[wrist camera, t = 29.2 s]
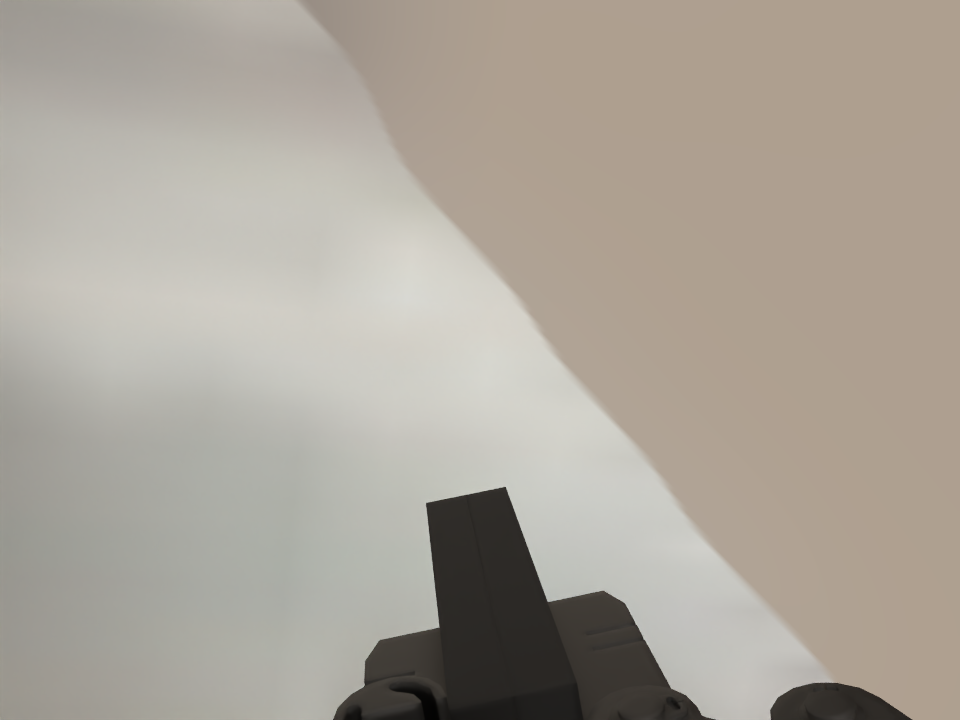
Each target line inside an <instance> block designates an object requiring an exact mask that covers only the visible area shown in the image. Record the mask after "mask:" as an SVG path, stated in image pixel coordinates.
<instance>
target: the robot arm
mask: <svg viewBox="0 0 960 720" xmlns="http://www.w3.org/2000/svg"><path fill="white" fill-rule="evenodd" d="M426 507H427V516H428V525H429V534H430V543H431V552H432V561H433V571H434V580H435V589H436V598H437V607H438V616H439V625H440V628H436V629H431V630H426V631H421V632H417V633H412V634H407V635H402V636H398V637H393V638H388V639H383V640H380V641H379V642H378V643H377V645H376V646H375V648H374V649H373V651H372V652H371V654H370V655H369V657H368V658H367V659H366V661H365V678H364V683H365V686H364V687H363V688H362V689H360V690H358V691H357V692H355V693H353V694H351V695H350V696H349V697H348V698H347V699H346V700H345V701H344V702H343V703H342V704H341V705H340V706H339V707H338V709H337V711H336V714H335V716H334V719H333V720H715V719H711V718H706V717H704V716H702V715H701V713H700V711H699V710H698V708H697V706H696V705H695V704H694V703H693V702H692V701H691V700H690V699H689V698H688V697H687V696H686V695H684V694H682V693H679V692H677V691H675V690H673V689H671V688H670V686H669V684H668V682H667V680H666V678H665V677H664V675H663V673H662V671H661V669H660V667H659V665H658V664H657V662H656V660H655V658H654V656H653V654H652V653H651V651H650V649H649V647H648V645H647V643H646V642H645V640H643V636H642V634H641V632H640V630H639V629H638V627H637V625H635V621H634V619H633V618H632V616H631V614H630V612H629V610H628V608H627V607H626V605H625V603H623V602H621V601H620V600H618V599H616V598H615V597H613V596H611V595H610V594H608V593H606V592H605V591H600V592H595V593H590V594H585V595H581V596H576V597H571V598H566V599H562V600H557V601H552V602H547V599H546V596H545V594H544V591H543V588H542V585H541V583H540V580H539V577H538V575H537V572H536V569H535V566H534V564H533V561H532V558H531V555H530V553H529V550H528V547H527V544H526V542H525V539H524V536H523V533H522V531H521V528H520V525H519V523H518V520H517V517H516V514H515V512H514V509H513V506H512V503H511V501H510V498H509V495H508V492H507V490H506V487H503V488H498V489H493V490H488V491H483V492H479V493H474V494H469V495H464V496H459V497H454V498H449V499H444V500H439V501H434V502H429V503H426ZM770 713H771V720H912V719H910V718H909V717H907V716H906V715H904V714H903V713H901V712H900V711H899V710H897V709H896V708H894V707H893V706H891V705H890V704H888V703H887V702H885V701H884V700H882V699H881V698H879V697H877V696H875V695H873V694H871V693H869V692H867V691H865V690H863V689H861V688H858V687H853V686H848V685H844V684H839V683H812V684H808V685H804V686H800V687H796V688H793V689H791V690H790V691H788V692H786V693H785V694H783V695H781V696H780V697H778V698H777V700H776V702H775V703H774V705H773V707H772V708H771V710H770Z"/></svg>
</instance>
